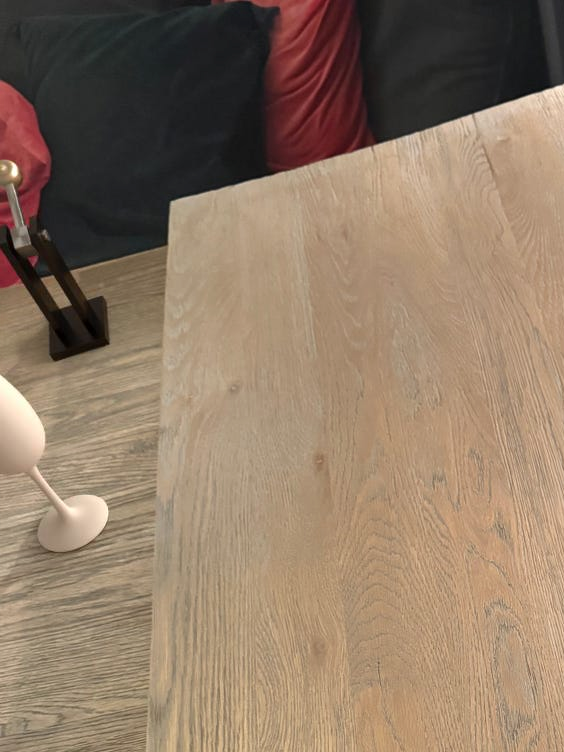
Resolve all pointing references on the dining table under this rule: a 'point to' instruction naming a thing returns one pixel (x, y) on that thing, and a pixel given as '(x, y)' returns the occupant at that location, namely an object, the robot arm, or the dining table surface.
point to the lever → (16, 209)
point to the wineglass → (20, 454)
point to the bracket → (66, 325)
